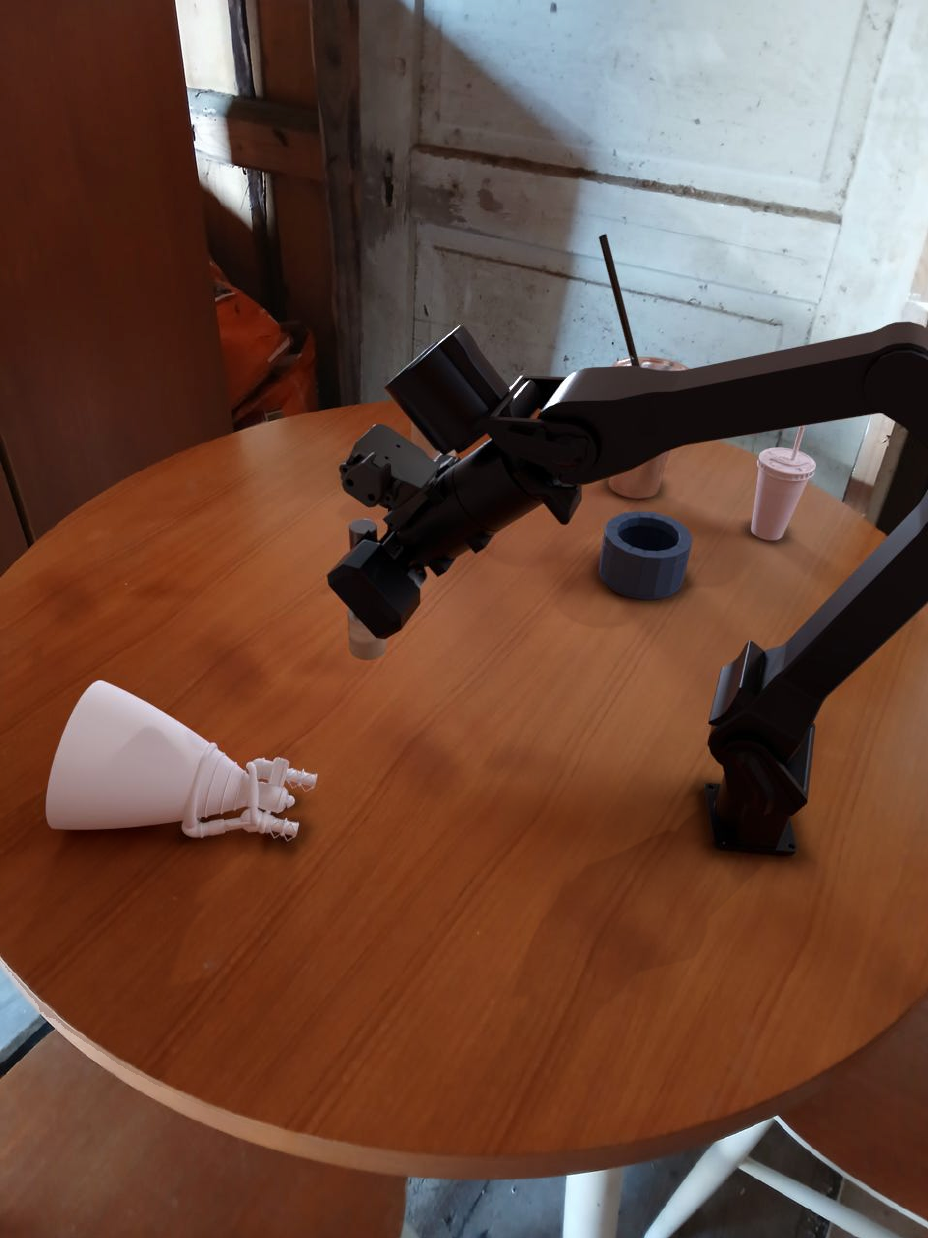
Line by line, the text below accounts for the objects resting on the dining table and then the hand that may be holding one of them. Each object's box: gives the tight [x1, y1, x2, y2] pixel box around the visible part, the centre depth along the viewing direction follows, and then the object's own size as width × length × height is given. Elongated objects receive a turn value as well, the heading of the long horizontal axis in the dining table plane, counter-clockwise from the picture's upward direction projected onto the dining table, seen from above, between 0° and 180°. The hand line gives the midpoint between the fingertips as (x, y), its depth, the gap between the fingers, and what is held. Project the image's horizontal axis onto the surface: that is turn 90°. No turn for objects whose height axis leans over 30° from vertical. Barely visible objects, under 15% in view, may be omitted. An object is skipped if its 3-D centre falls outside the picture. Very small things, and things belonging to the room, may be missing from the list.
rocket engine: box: [45, 679, 318, 842], centre depth 70 cm, size 12×12×18 cm
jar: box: [598, 510, 693, 601], centre depth 99 cm, size 9×9×6 cm
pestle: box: [346, 518, 387, 661], centre depth 74 cm, size 3×3×12 cm
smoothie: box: [750, 425, 817, 541], centre depth 104 cm, size 6×6×14 cm
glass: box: [598, 233, 691, 500], centre depth 107 cm, size 11×11×30 cm
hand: (350, 583), depth 75 cm, fingers closed on pestle, 2 cm apart
